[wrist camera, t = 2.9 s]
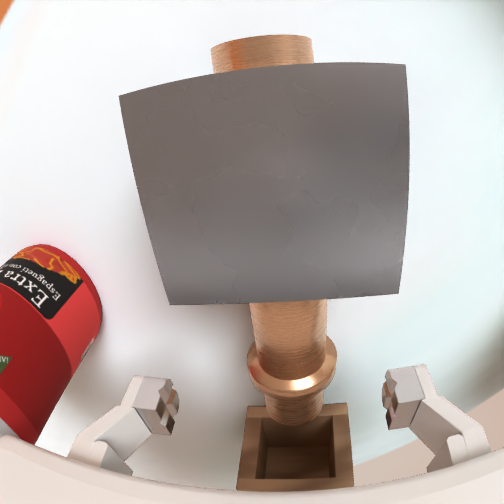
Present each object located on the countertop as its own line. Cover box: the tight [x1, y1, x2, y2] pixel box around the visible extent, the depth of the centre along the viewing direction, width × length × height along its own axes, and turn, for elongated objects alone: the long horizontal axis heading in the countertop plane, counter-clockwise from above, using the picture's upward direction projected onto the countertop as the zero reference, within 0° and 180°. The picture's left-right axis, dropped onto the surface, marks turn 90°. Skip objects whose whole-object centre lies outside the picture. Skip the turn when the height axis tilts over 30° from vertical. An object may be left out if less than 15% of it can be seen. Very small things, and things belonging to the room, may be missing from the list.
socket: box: [236, 403, 354, 492], centre depth 20 cm, size 7×6×7 cm
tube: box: [211, 35, 337, 426], centre depth 12 cm, size 4×16×4 cm, turn 7°
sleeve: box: [119, 62, 409, 305], centre depth 10 cm, size 7×6×6 cm
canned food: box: [0, 244, 102, 445], centre depth 14 cm, size 8×8×11 cm
